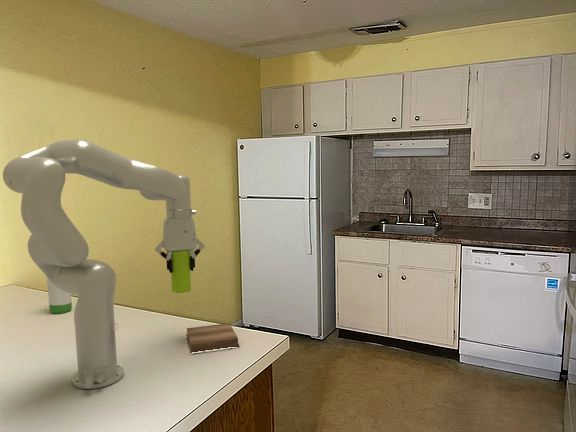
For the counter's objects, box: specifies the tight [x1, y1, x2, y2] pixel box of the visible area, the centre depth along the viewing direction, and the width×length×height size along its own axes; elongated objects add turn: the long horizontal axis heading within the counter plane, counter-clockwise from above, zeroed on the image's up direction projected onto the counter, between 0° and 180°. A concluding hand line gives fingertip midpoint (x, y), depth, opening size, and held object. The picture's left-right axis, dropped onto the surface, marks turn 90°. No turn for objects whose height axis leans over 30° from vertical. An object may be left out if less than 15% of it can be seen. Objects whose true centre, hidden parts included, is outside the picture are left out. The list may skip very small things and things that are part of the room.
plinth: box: [185, 322, 240, 354], centre depth 141 cm, size 15×15×3 cm
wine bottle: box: [46, 276, 73, 315], centre depth 172 cm, size 8×8×30 cm
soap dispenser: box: [170, 230, 192, 294], centre depth 142 cm, size 6×7×20 cm
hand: (181, 270), depth 142 cm, fingers closed on soap dispenser, 5 cm apart
